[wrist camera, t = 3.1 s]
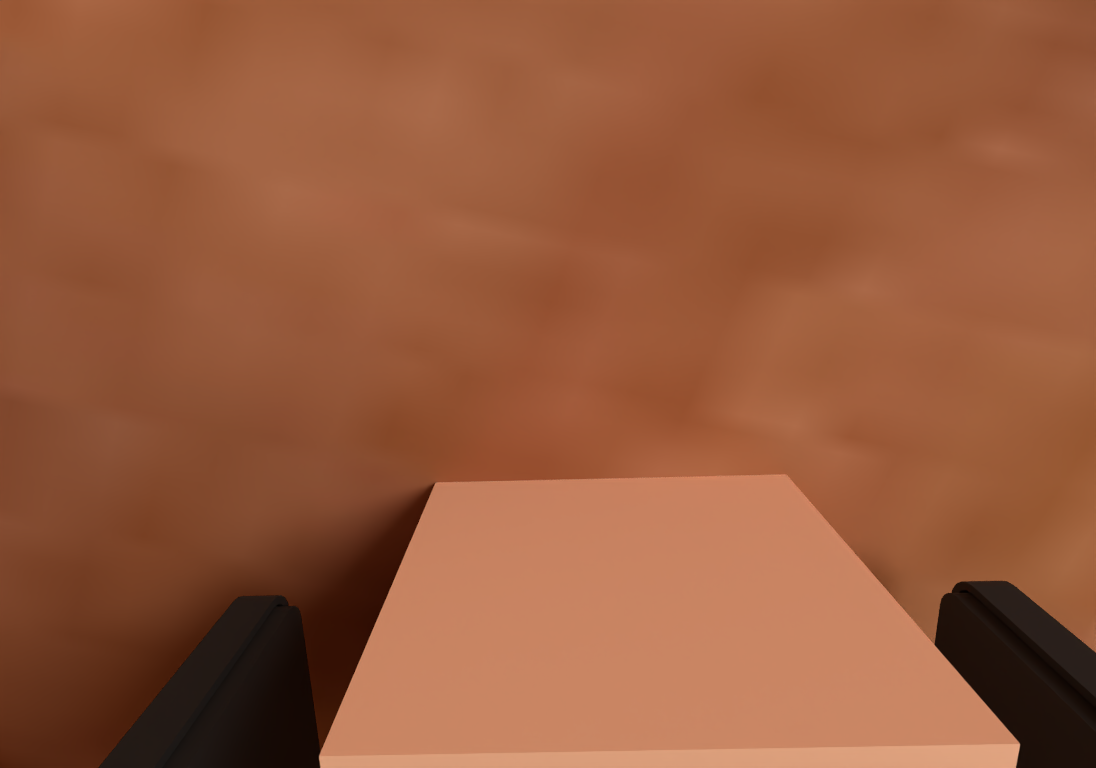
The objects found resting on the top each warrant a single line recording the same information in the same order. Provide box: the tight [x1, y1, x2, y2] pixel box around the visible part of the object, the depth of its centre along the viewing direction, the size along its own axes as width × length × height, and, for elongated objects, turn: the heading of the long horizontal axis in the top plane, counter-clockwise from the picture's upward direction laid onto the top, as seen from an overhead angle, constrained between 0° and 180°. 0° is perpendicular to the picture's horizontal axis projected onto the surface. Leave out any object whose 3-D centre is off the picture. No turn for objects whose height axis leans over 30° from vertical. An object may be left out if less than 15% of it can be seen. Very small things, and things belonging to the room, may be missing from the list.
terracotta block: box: [319, 474, 1020, 768], centre depth 8 cm, size 5×5×5 cm
